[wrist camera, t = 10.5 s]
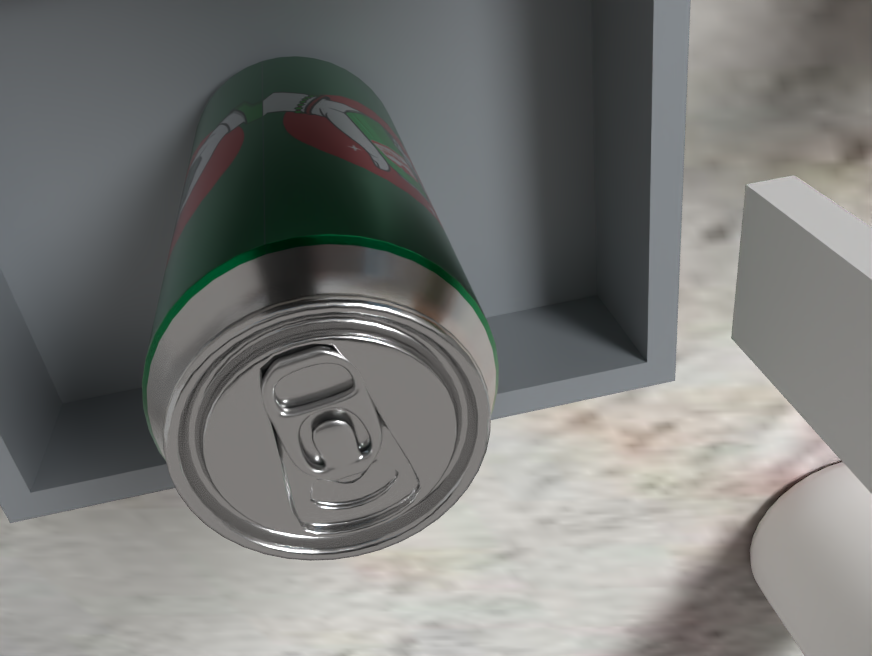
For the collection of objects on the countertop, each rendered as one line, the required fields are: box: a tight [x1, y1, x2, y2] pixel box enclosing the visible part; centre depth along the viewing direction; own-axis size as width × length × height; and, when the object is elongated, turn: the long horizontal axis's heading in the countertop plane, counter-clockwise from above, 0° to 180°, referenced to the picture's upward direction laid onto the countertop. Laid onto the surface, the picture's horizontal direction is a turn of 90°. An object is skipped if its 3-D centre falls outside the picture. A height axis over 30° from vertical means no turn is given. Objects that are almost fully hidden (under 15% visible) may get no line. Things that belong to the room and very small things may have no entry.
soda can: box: [142, 56, 499, 560], centre depth 16 cm, size 5×5×12 cm
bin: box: [0, 0, 690, 523], centre depth 20 cm, size 14×18×4 cm
